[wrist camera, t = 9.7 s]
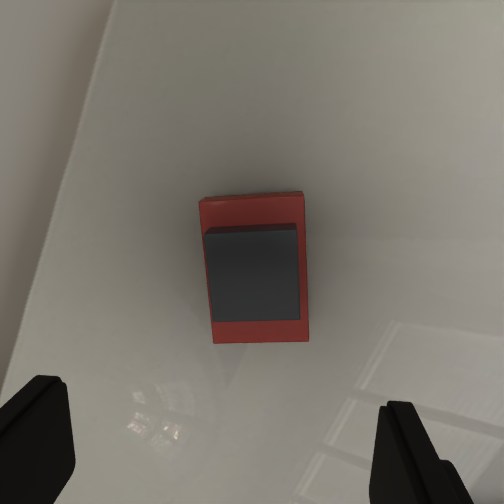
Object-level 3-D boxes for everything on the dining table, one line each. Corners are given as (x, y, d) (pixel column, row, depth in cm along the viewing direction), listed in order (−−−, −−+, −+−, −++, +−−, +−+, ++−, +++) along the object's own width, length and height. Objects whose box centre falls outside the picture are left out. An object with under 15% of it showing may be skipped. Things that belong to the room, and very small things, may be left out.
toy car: (190, 206, 20) (305, 199, 20) (208, 194, 25) (302, 189, 24) (207, 359, 23) (311, 357, 22) (221, 323, 27) (306, 320, 27)
